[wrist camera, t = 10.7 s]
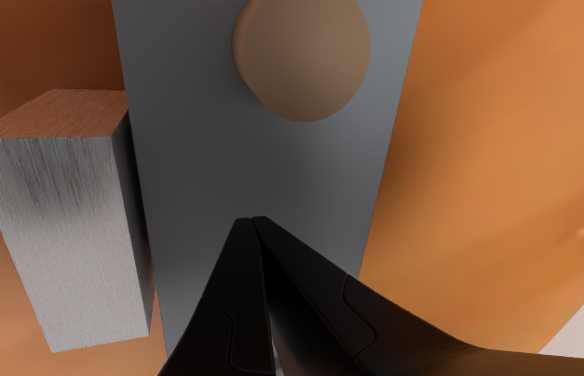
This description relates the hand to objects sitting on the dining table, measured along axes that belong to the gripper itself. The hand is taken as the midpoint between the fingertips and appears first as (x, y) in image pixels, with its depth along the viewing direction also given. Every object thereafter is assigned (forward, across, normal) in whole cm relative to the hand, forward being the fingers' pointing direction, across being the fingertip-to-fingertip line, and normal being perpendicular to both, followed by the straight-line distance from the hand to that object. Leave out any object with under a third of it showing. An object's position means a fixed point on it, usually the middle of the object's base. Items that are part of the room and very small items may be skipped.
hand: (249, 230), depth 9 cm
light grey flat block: (+2, +3, 0) cm, 3 cm away
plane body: (+4, -1, +2) cm, 5 cm away
